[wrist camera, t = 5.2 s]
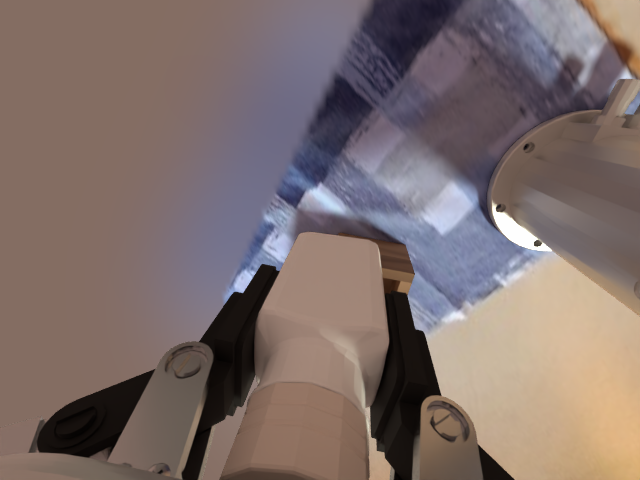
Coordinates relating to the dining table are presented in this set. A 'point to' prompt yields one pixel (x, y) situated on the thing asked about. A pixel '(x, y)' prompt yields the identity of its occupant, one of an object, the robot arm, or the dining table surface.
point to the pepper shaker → (315, 365)
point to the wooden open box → (393, 265)
